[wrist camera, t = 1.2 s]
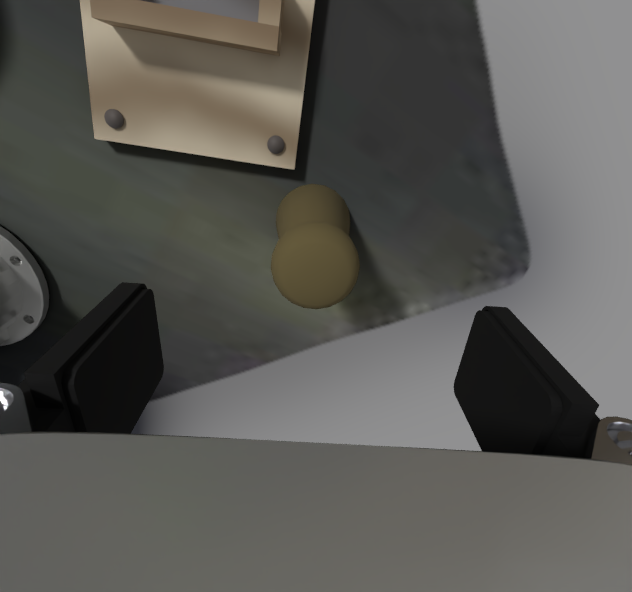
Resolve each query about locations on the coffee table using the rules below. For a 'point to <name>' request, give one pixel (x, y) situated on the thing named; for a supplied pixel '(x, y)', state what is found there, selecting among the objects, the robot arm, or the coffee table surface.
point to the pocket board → (199, 75)
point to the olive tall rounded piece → (314, 248)
